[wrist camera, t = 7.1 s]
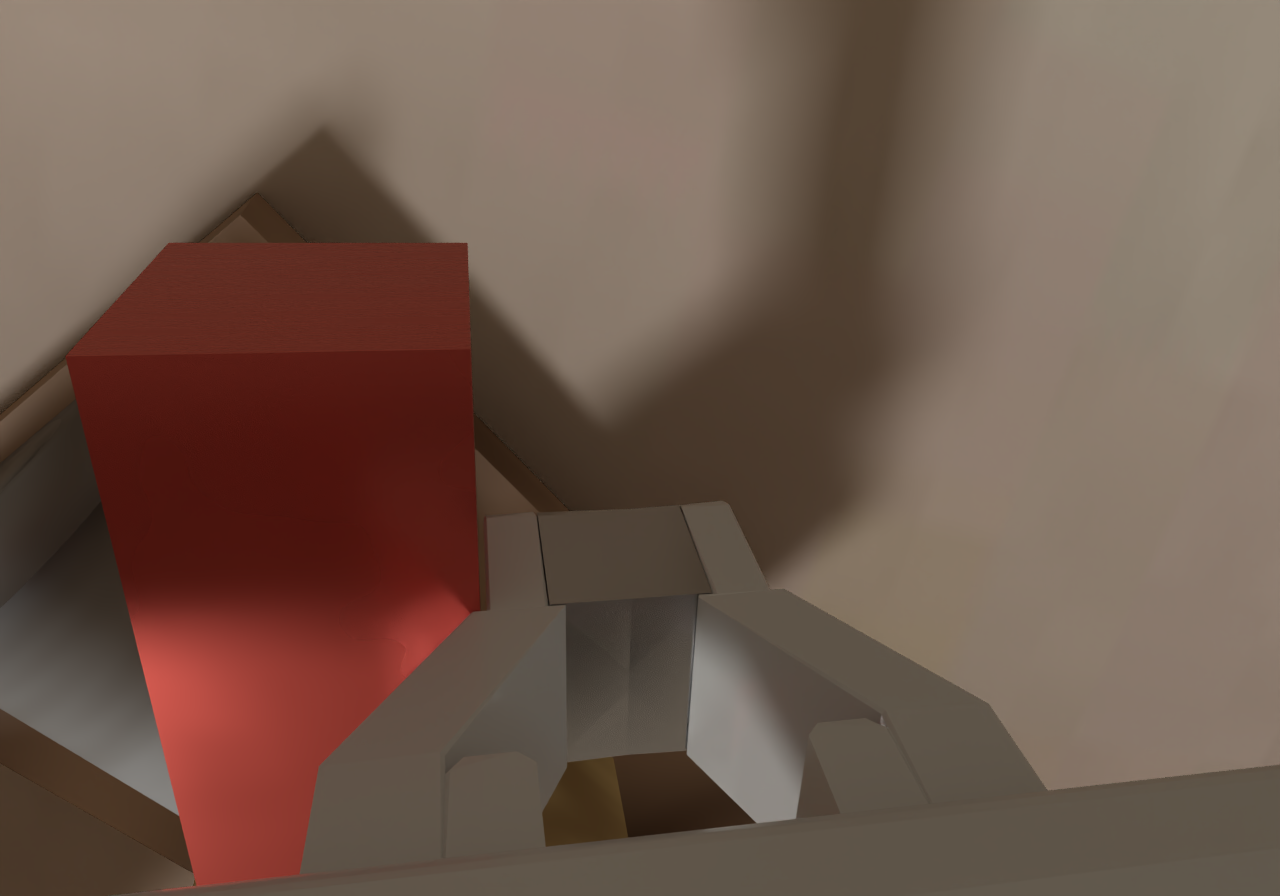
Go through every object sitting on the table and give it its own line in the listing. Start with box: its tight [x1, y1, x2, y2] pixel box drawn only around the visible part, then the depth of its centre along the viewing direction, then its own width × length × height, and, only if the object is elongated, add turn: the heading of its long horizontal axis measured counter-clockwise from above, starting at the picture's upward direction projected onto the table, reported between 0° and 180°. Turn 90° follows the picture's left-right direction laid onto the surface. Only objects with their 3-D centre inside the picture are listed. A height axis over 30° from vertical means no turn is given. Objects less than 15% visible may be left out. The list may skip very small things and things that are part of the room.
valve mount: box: [0, 193, 756, 886], centre depth 19 cm, size 22×12×9 cm, turn 36°
